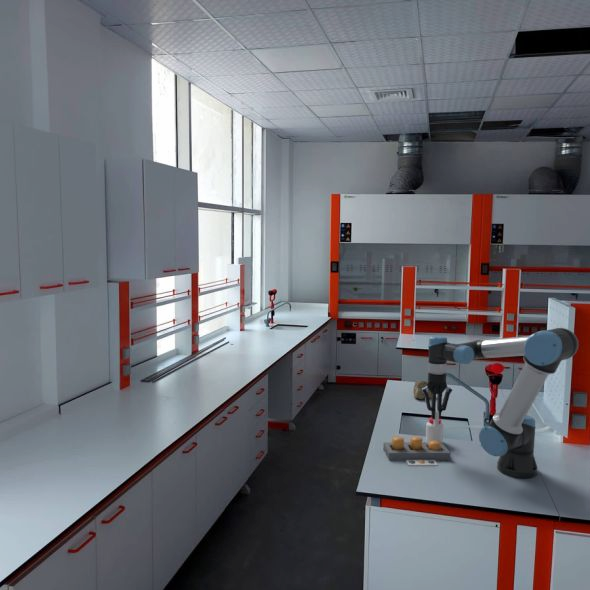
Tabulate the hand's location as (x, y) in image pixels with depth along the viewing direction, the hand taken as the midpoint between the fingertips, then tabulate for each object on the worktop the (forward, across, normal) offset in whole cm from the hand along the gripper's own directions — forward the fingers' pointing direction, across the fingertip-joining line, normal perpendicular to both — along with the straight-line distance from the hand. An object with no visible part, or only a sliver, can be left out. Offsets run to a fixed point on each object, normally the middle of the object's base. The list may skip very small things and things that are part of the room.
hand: (436, 426), depth 239 cm
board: (+13, +8, 0) cm, 15 cm away
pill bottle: (+13, -4, -14) cm, 20 cm away
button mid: (+10, +8, 0) cm, 13 cm away
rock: (+12, -18, -84) cm, 87 cm away
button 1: (+10, +16, 0) cm, 19 cm away
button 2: (+12, 0, 0) cm, 12 cm away
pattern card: (+13, +8, +9) cm, 18 cm away
